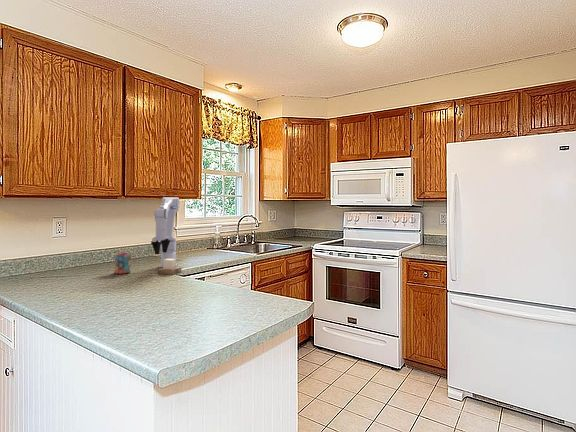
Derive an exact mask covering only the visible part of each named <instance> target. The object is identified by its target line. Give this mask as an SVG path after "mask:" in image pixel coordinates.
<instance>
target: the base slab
mask: <svg viewBox="0 0 576 432" xmlns="http://www.w3.org/2000/svg"><path fill="white" fill-rule="evenodd" d="M181 272H182V267H181V266H176V268H174V269H163V267H160V268H158V272H157V274H158V275H171V276H173V275H176V274H178V273H181Z"/></svg>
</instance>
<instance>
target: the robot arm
mask: <svg viewBox="0 0 576 432" xmlns="http://www.w3.org/2000/svg"><path fill="white" fill-rule="evenodd" d="M180 204H181V203H180V198H179V197H177V196H175V197H172V196H171V197H168V196H167V197H165V196H163V197H162V200H161V204H160V206H159V207H158V208H155V209H154V212H153V213H154V214H153V215H154V221H155V236H154V237H153V238H151V241H150V243H151V245H152V247H153V251H154V254H155V255H160V253H161V255H160V256H161V257H160V259H161V260H160V261H161V262H160V263H161V265H158V267H159V268H163V260H165V259H176V260H177V253H176V251H177V246H178V245H177V239H176V238H175V237H174V226H175V220H176V214H177V213H178V212H179V210H180ZM176 267H178V264H177V263H176Z"/></svg>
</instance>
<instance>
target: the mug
mask: <svg viewBox="0 0 576 432" xmlns="http://www.w3.org/2000/svg"><path fill="white" fill-rule="evenodd" d="M112 256H113V258H114V261H115V269H114V270H113V273H114V274H118V275H125V274H129V273H131V266H133V265H134V264H135V263H136V262H137V256H135V255H132V253H130V252H118V253H113V254H112ZM132 257H134V258H135V259H134V261H133V263H131V264H130V260H131V259H132Z"/></svg>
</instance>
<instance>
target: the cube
mask: <svg viewBox="0 0 576 432" xmlns="http://www.w3.org/2000/svg"><path fill="white" fill-rule="evenodd" d="M176 264H177V258H176V259H165V260H163V267H162V268H163V269H174V268H176V267H177V266H176Z"/></svg>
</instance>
